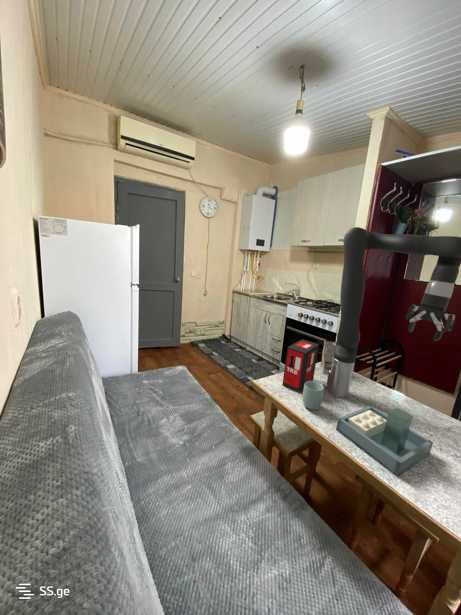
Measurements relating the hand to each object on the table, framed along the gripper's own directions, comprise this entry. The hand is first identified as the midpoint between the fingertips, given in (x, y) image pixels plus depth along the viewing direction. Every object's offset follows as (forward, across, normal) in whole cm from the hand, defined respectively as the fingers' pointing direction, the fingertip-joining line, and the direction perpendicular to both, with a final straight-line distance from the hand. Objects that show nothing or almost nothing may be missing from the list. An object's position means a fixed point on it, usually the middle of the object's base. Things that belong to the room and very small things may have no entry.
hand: (422, 336), depth 95 cm
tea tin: (+37, +9, -17) cm, 42 cm away
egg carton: (+38, 0, -18) cm, 42 cm away
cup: (+40, -20, -26) cm, 51 cm away
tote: (+38, +6, -18) cm, 42 cm away
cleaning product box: (+40, -37, -17) cm, 57 cm away
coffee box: (+38, -41, +9) cm, 57 cm away
